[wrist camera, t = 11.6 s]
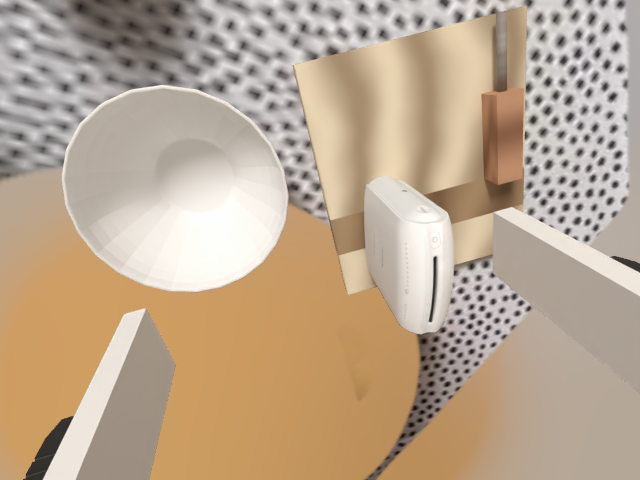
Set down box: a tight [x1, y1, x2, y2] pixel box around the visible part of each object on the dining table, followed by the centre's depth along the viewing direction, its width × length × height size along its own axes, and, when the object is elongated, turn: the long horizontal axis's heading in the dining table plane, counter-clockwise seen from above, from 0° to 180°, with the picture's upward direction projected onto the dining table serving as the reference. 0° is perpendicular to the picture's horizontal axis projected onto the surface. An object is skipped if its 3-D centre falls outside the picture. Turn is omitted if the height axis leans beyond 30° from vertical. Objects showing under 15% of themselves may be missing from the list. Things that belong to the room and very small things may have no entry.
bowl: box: [62, 85, 289, 292], centre depth 30 cm, size 16×16×7 cm
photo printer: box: [364, 176, 454, 334], centre depth 31 cm, size 10×4×12 cm, turn 5°
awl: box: [481, 11, 524, 185], centre depth 32 cm, size 14×2×2 cm, turn 13°
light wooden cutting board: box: [293, 6, 527, 295], centre depth 36 cm, size 20×23×2 cm
